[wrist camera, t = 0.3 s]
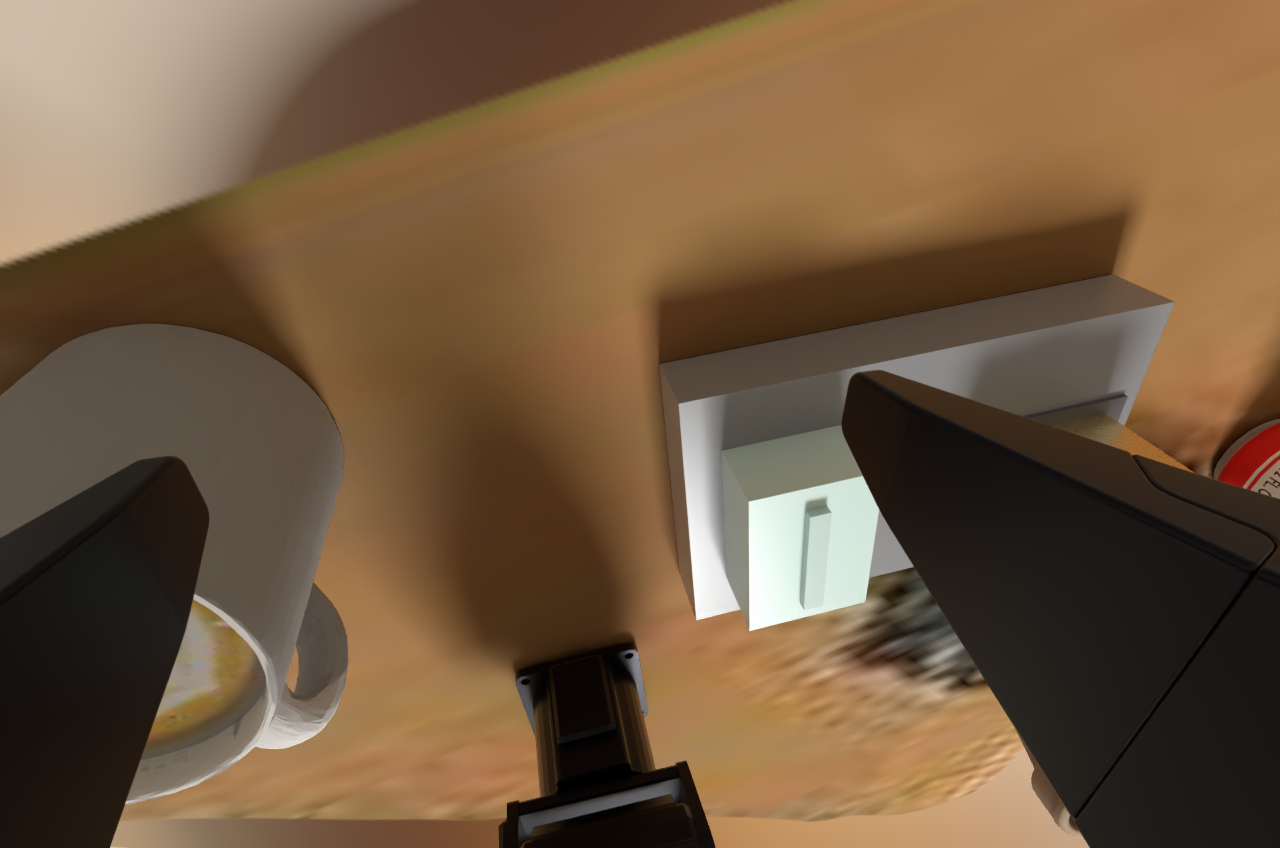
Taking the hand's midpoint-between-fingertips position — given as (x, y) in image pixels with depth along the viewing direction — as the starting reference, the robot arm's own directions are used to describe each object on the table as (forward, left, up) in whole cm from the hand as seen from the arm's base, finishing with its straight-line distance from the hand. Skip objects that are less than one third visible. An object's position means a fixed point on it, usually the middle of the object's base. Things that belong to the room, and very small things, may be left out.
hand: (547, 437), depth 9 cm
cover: (-13, -8, -11) cm, 19 cm away
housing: (-13, -14, -14) cm, 24 cm away
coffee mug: (-9, +13, -14) cm, 21 cm away
